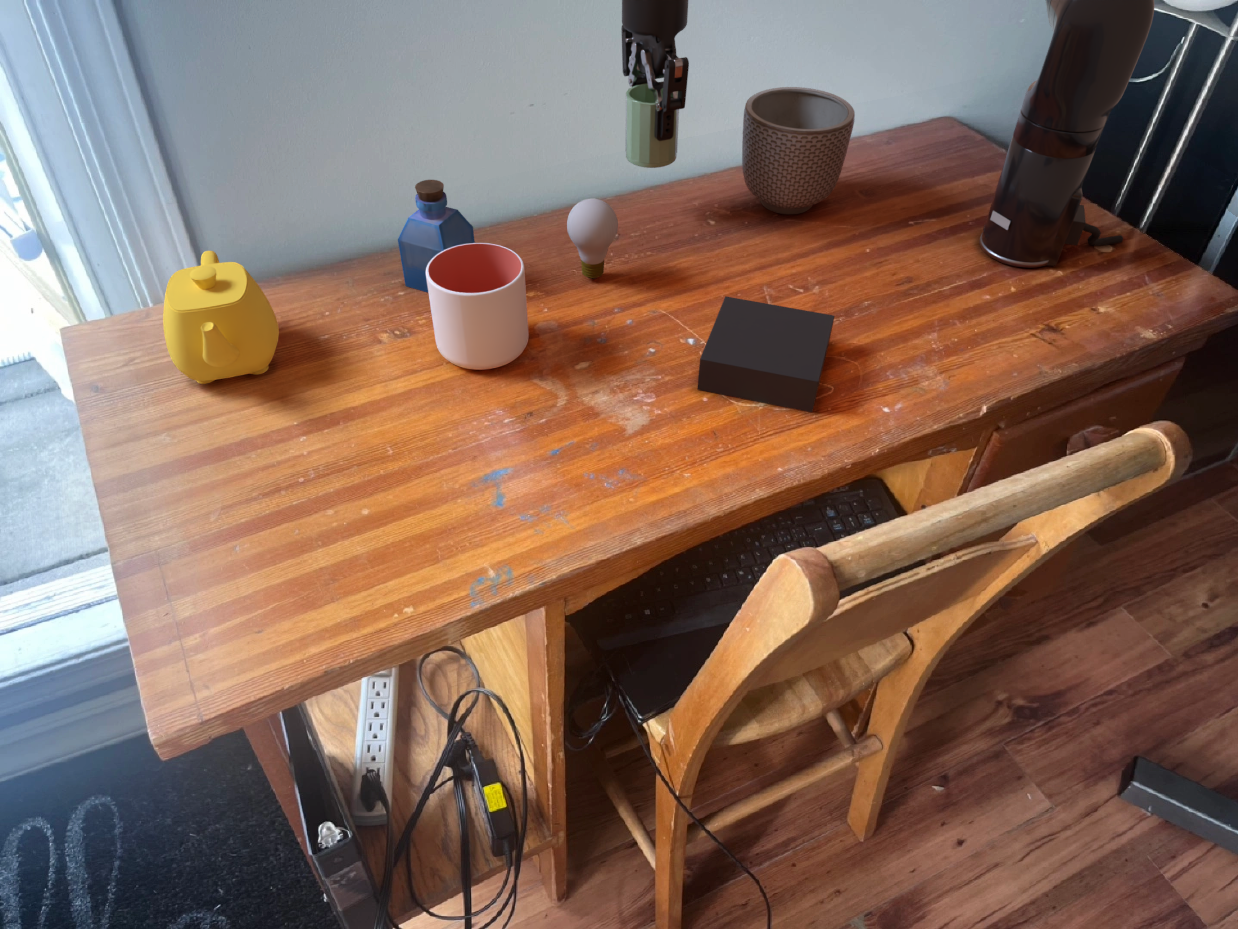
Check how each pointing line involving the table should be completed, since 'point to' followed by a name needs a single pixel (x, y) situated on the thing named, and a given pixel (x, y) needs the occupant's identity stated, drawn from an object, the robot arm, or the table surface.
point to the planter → (794, 146)
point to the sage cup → (647, 130)
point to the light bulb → (592, 233)
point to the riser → (766, 353)
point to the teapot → (218, 321)
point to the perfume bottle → (430, 232)
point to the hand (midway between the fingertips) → (651, 126)
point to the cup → (478, 305)
